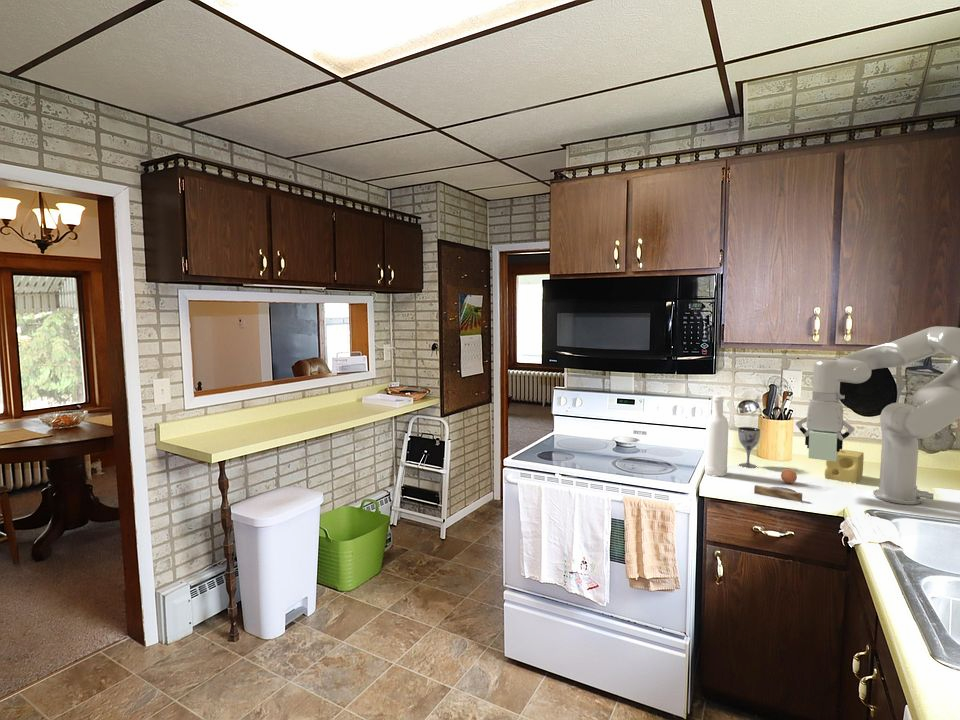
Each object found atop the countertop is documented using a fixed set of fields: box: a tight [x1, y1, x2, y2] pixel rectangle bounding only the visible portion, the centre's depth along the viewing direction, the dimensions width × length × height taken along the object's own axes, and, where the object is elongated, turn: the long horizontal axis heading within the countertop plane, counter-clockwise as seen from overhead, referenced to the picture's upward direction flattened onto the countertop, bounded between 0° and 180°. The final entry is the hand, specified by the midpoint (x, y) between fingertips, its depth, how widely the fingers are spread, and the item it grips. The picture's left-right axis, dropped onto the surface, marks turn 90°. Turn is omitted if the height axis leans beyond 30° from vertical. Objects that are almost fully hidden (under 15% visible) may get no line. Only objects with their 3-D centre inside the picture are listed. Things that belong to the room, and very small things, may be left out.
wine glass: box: [737, 426, 761, 469], centre depth 220 cm, size 8×8×15 cm
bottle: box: [704, 394, 729, 477], centre depth 209 cm, size 8×8×30 cm
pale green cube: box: [807, 430, 838, 461], centre depth 184 cm, size 8×8×9 cm
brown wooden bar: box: [753, 484, 803, 503], centre depth 184 cm, size 14×2×2 cm, turn 51°
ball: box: [780, 468, 798, 484], centre depth 198 cm, size 5×5×5 cm
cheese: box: [824, 448, 865, 484], centre depth 203 cm, size 10×11×10 cm
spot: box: [768, 486, 797, 492], centre depth 189 cm, size 9×9×1 cm
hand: (823, 449), depth 184 cm, fingers closed on pale green cube, 7 cm apart
